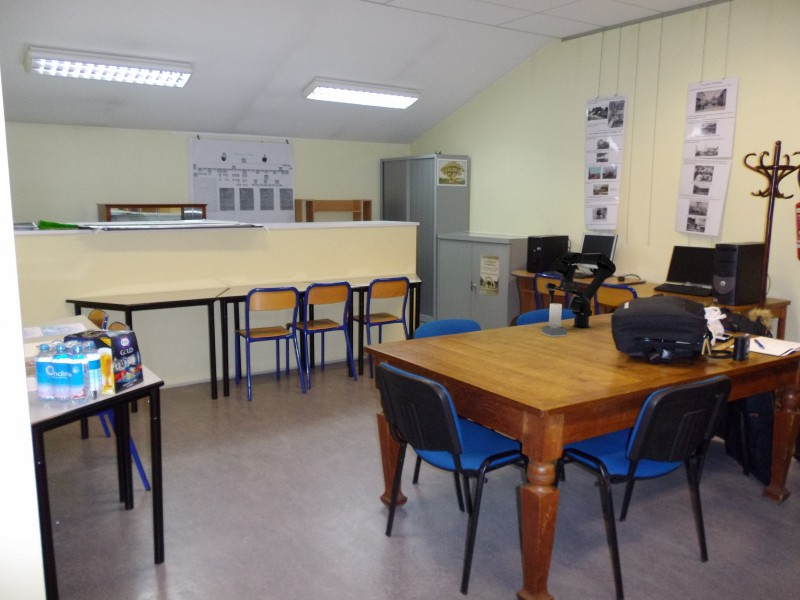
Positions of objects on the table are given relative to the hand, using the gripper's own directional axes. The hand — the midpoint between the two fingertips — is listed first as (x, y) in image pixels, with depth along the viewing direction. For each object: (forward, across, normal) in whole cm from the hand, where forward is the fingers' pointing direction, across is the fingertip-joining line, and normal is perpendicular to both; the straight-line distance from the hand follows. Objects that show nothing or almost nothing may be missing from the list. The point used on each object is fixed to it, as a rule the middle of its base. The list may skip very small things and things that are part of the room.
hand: (560, 306), depth 330 cm
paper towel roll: (+14, -3, -13) cm, 19 cm away
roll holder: (+14, -3, -13) cm, 19 cm away
